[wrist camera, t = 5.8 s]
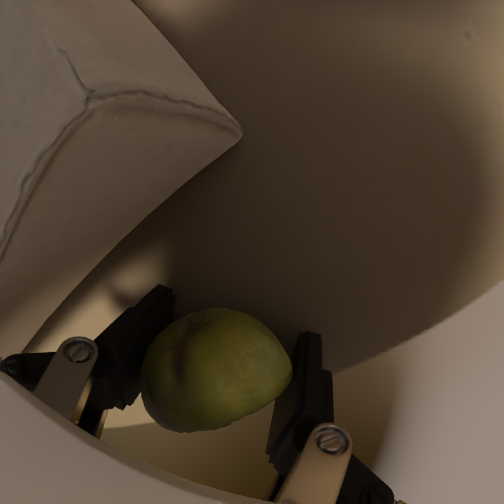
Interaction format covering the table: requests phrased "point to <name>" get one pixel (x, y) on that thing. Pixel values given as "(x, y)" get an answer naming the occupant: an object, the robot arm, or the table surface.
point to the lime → (212, 370)
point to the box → (88, 144)
